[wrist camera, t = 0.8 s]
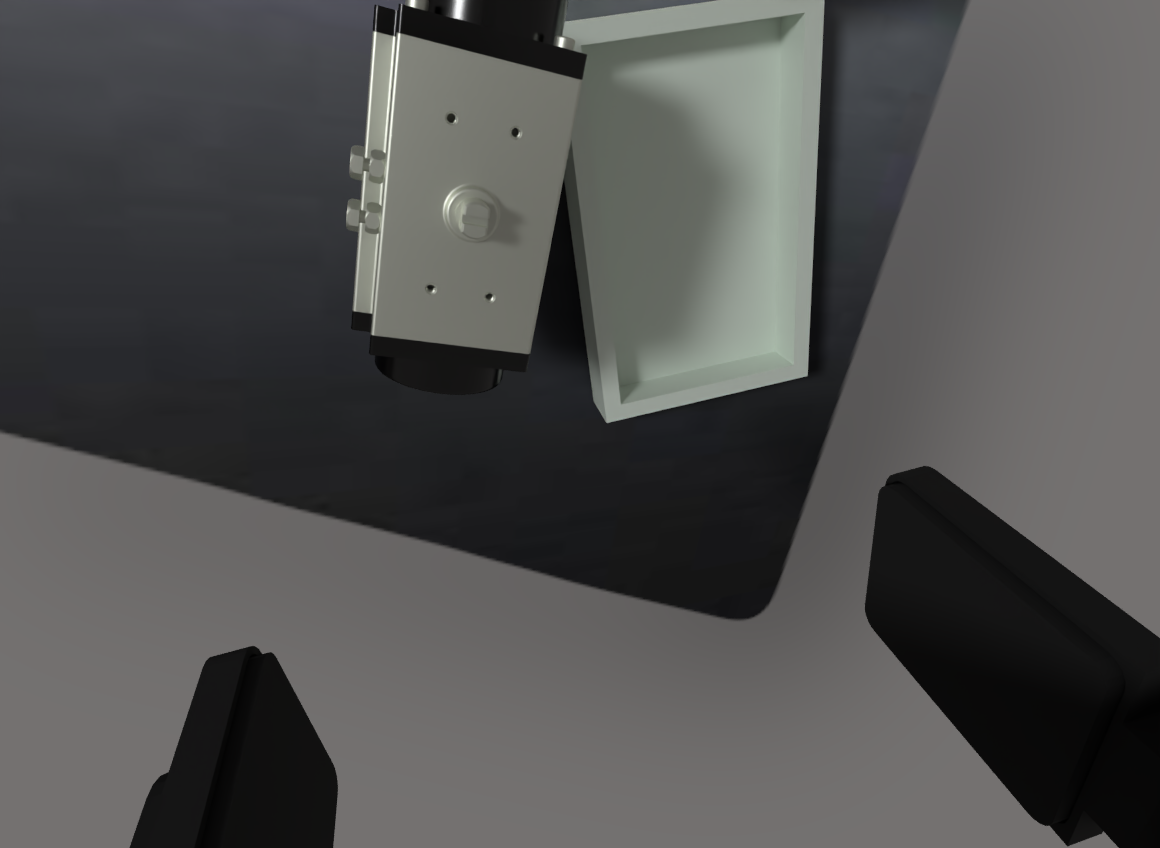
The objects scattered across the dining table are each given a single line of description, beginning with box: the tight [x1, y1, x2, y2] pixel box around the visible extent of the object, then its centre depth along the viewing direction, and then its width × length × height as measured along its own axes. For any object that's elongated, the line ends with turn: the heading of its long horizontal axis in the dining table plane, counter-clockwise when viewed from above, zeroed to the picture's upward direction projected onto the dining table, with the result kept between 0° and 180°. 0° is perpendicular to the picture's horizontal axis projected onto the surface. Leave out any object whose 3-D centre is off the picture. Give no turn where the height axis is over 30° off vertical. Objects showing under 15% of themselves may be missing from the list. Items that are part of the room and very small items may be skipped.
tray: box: [562, 0, 825, 423], centre depth 29 cm, size 17×11×2 cm, turn 8°
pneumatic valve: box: [346, 0, 587, 395], centre depth 22 cm, size 6×12×12 cm, turn 168°
